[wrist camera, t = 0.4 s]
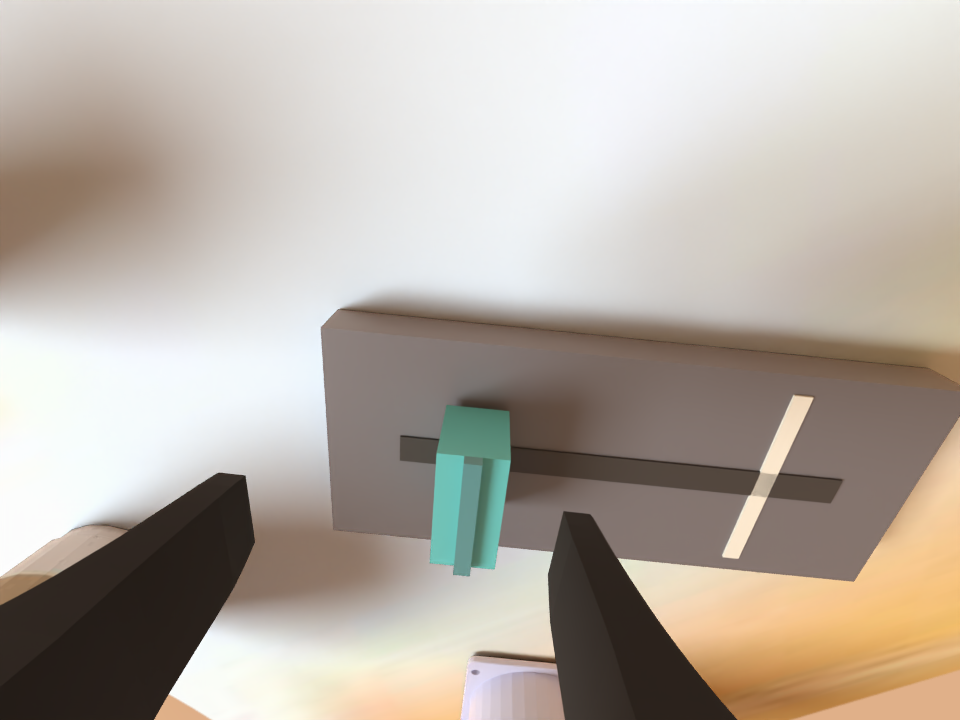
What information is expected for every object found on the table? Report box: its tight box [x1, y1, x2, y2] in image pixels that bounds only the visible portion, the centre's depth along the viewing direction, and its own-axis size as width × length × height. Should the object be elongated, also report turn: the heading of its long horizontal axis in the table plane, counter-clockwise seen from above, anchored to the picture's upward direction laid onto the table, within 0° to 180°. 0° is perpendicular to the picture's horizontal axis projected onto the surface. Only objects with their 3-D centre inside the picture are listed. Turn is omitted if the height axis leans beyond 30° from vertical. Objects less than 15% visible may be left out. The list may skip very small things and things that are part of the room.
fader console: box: [321, 309, 960, 582], centre depth 20 cm, size 10×24×2 cm, turn 85°
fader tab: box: [430, 405, 511, 576], centre depth 17 cm, size 5×2×3 cm, turn 175°
